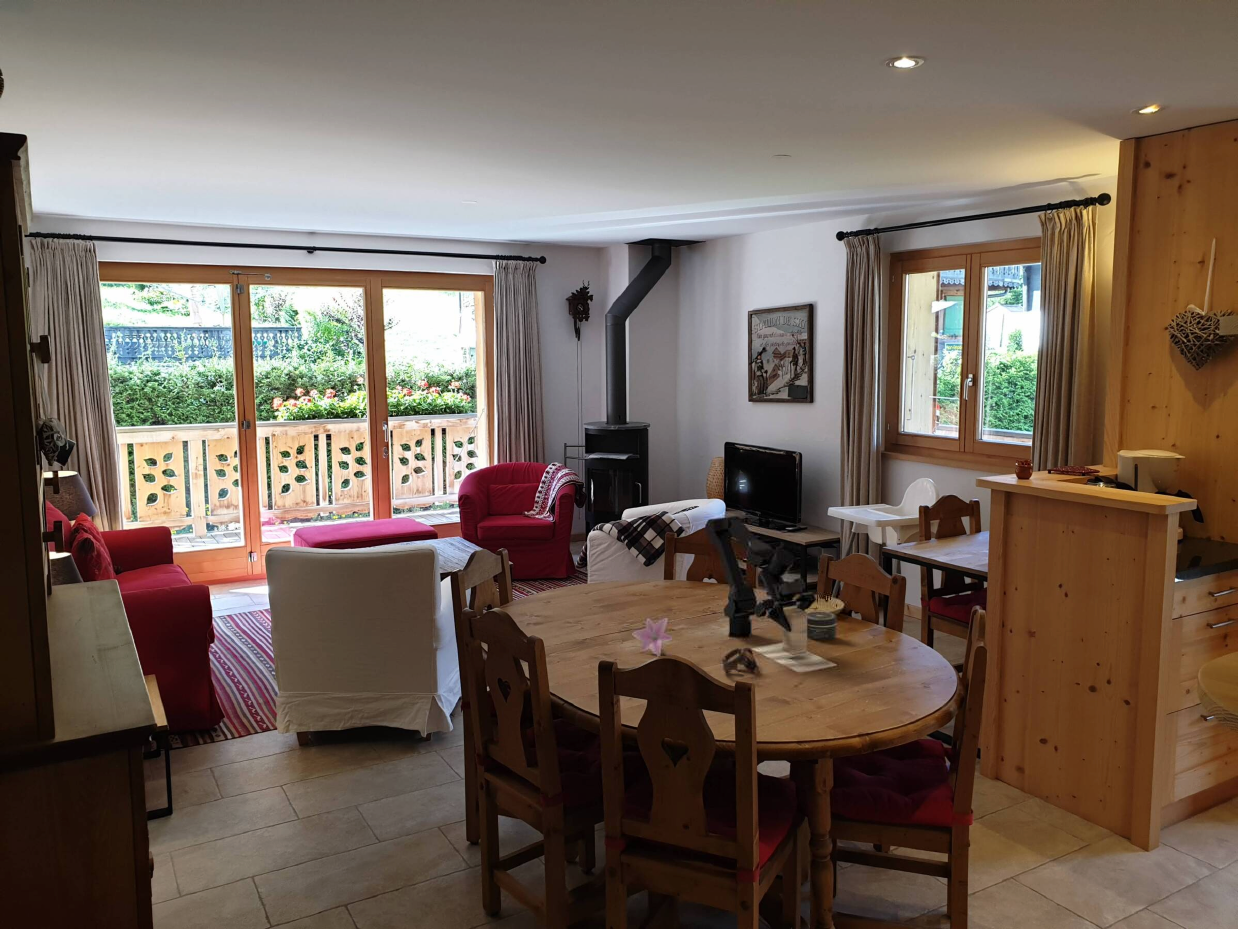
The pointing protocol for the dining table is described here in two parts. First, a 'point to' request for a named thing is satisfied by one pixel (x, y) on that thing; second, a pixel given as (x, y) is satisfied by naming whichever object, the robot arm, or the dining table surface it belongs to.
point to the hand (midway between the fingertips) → (797, 630)
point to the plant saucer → (824, 605)
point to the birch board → (794, 658)
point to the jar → (821, 625)
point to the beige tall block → (795, 632)
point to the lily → (653, 635)
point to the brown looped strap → (740, 659)
